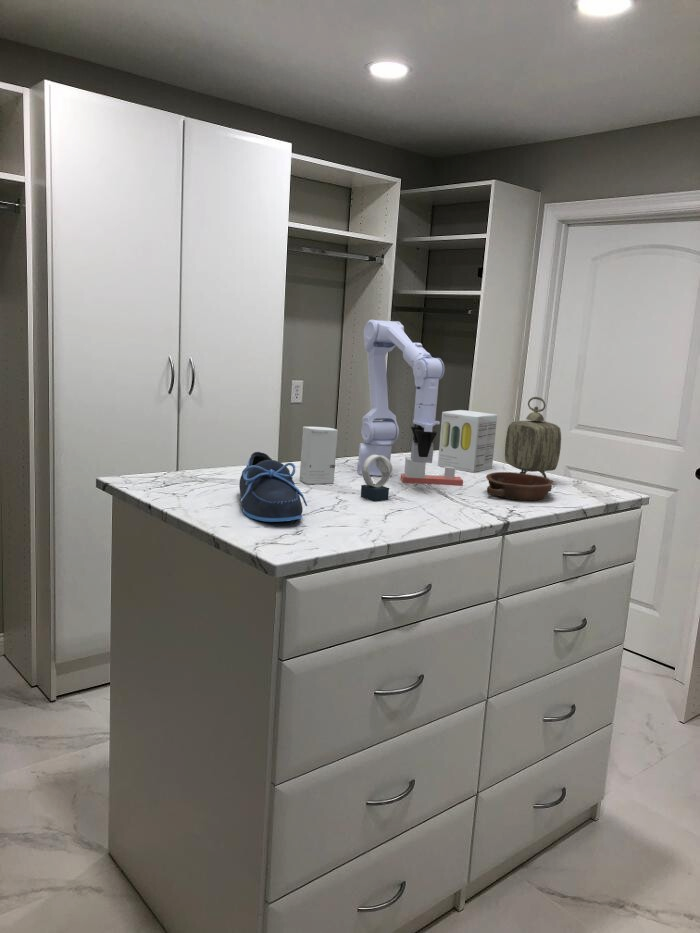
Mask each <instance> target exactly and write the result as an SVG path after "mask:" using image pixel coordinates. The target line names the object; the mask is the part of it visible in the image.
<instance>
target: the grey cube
mask: <svg viewBox="0 0 700 933" xmlns="http://www.w3.org/2000/svg"><path fill="white" fill-rule="evenodd" d="M434 445H435V444H434V443H433V442H432V444H431V447H430V451H429V454H428V457H419V451H418V441H415V440H414V439H413V440H411V452H410V457H411V460H412V461H413V462H422V463H426V464H433V457H434V456H433V455H434Z"/></svg>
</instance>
